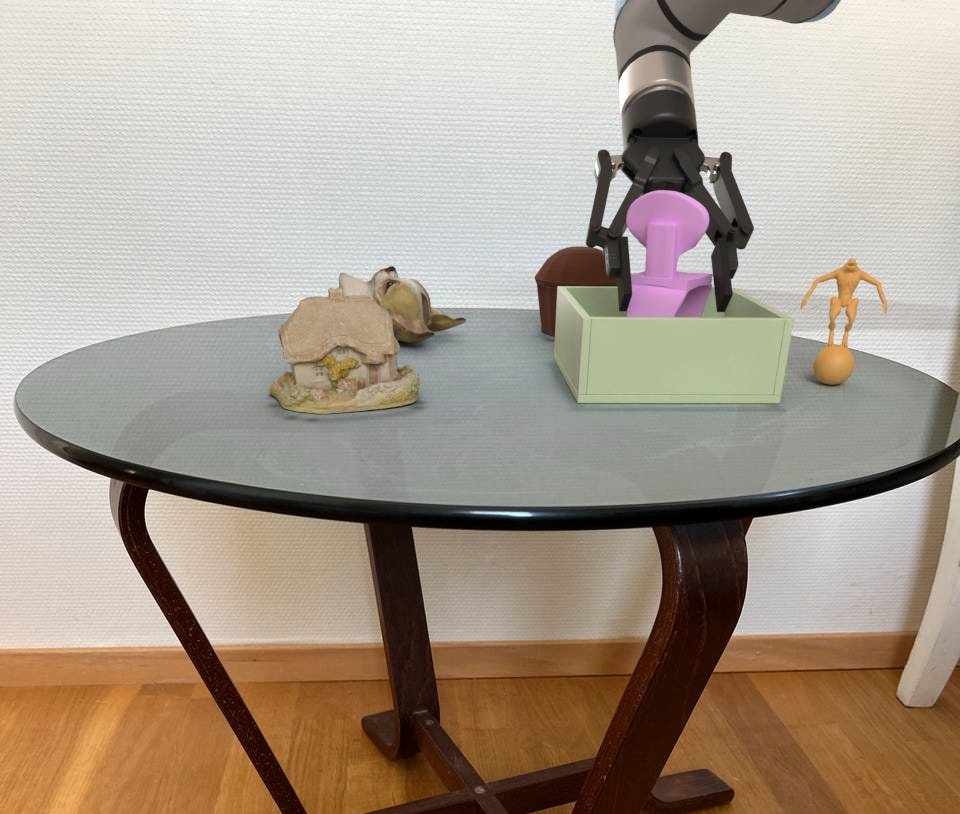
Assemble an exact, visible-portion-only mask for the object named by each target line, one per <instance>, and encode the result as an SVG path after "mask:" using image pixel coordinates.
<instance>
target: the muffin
mask: <svg viewBox="0 0 960 814" xmlns="http://www.w3.org/2000/svg"><path fill="white" fill-rule="evenodd" d="M602 252H603V249H599V248H597V247H593V248H590V247H588V246H583V245H581V246H580V245H579V246H577V245H576V246H568V247H565V248H561V249H559V250H558V251H556V252H555V253H553V254H551V255H550V256H549V257H548V258H547V259H546V260H545V261H544V262H543V264H542V265H541V267H540V268H539V270H538V271H537V272H536V274H535V275H534V281H535V284H536V289H537V290H536V291H537V299H538V309H539V320H540V329H541V333H543V334H547V335H549V336H551V337H555V326H556V306H557V287H558V286H564V287H565V286H592V287H617V278H612V277H608V275H607V273H606V261H605V257H604V256H603V254H602Z"/></svg>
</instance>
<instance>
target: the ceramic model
mask: <svg viewBox="0 0 960 814" xmlns="http://www.w3.org/2000/svg"><path fill="white" fill-rule="evenodd" d="M327 291H328V293H327V294H328V296H307V297H305V298H303V299H301V300H300V301H299V303H298V305H297V307H296V308H295V309H294V311H292V313H291V314H290V316H289V317H288V318H287V320H285V322H284V323H283V324H281V325H280V327H279V328H278V329H277V333H278V337H279V341H280V345H281V348H282V356H283V359H284V361H285V362H286V363H287V364H288V365H290V370H291V371H287V370H286V371H284V373H283V374H282V375H281V376H280V377H279V378H277V380H276V381H275V382H273V384H271V385H270V386H269V390H268V394H269V395H271V396H273V397H274V398H275V399H276V400H277V401H278V403H279V404H280V406H281V407H282V408H283V409H285V410H288V411H292V412H296V413H297V412H298V413H307V414H317V415H318V414H319V415H328V414H329V415H330V414H342V413H352V412H355V413H356V412H364V411H372V410H383V409H384V410H385V409H389V408H396V407H403V406H407V405H410V404H413V403H415V402H417V400H418V396H419V394H420V393H419V391H420V385H421V382H420V381H421V380H420V378H419V376H420V375H419V373H417V372H416V371H415V369H414V368H413V367H412V366H411V365H409V364H404V365H403V366H399V367H398V354H400V351H401V346H400V343H399V341H397V340H396V339H395V337H394V333H393V322H392V318H391V316H390V315H389V313H388V311H387V310H385V309H383V308H382V307H381V306H379V305H378V304H377V303H376V301H375V300H374V298H372V297H368V296H365V295H361V296H360V295H351V296H347V297H345V296H344V294H343V288H342V287H339V286H338V287H337V288H336V287H335V288H333V287H329V288H328V290H327Z"/></svg>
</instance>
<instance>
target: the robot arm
mask: <svg viewBox="0 0 960 814" xmlns="http://www.w3.org/2000/svg"><path fill="white" fill-rule="evenodd" d="M841 1H842V0H616V1H615V4H614V10H613V31H612V34H613V35H612V41H613V47H614V50H615V58H616V68H617V69H616V70H617V80H618V93H619V107H620V118H621V135H622V150H623V151H622V153H621V154H615V155H614V154H613V155H611V154H610V151H608V150H606V149H599V150H598V152H597V154H596V161H595V166H594V169H593V175H594V179H595V183H596V189H595V194H594V198H593V204H592V208H591V214H590V218H589V222H588V227H587V232H586V237H585V241H584V242H585V246H586V247H590V248H593V247H594V248H596V247H599V248H601V250H602V251H603V252H602V254H603V256H604V257H605V261H606V273H607V275H608V277H612V278H617V288H618V302H619V311H627V309H628V306H629V303H630V300H631V297H632V283H631V273H632V272H631V258H630V246H629V236H624V234H625V232H626V230H627V229H628V227H627V223H626V217H627V212H628V209H629V207H630V205H631V204H632V203H633V202H634V201H635V200H636V199H638V198H639V197H641V196H643V195H644V194H647V193H649V192H652V191H657V190H667V191H676V192H680V193H683V194H685V195H687V196H689V197H691V198H693V199H695V200H696V201H698V202H699V203H701V204H702V205H703V206H704V207H705V208H706V210H707V212H708V214H709V225H708V228H707V230H706V232H705V235H706V236H707V238H708V239H709V240H710V242H711V243H712V245H713V246H714V247H713V250H712V252H711V255H710V260H711V269H712V274H713V276H712V281H713V287H714V289H715V299H716V308H717V312H725V310H726V308H727V306H728V304H729V302H730V300H731V298H732V296H733V292H732V288H733V285H732V280H734V277H735V275H736V273H737V270H738V268H739V258H738V250H745V249H746V247H747V245H748V244H749V241H750V240H751V237H752V235H753V233H754V230H755V225H754V224H753V220H752V219H751V216H750V214H749V211H748V208H747V206H746V203H745V201H744V199H743V196H742V193H741V191H740V189H739V186H738V183H737V180H736V178H735V176H734V173H733V171H732V170H733V155H732V153H730V152H728V151H723V152H721V153H720V155H719V157H713V156H705V153H704V152H703V150H702V149H701V147H700V145H699V132H698V131H699V130H698V122H697V114H696V107H695V103H696V102H695V94H694V85H693V78H692V69H691V68H692V66H691V54H692V52H693V51H694V50H695V49H696V48H698V46H699V45H700V44H701V43H702V42H703V41H704V40H705V39H706V38H708V36H709V35H710V34H712V32H713V31H714V30H716V28H717V27H718V26H719V25H720V24H721V23H722V22H723V20H725V19H726V18H727V17H728V16H729V15H730V14H735V15H740V16H741V15H742V16H748V17H749V16H750V17H758V18H763V19H770V20H774V21H775V20H776V21H781V22H784V23H787V24H792V25H793V24H794V25H797V24H804V23H815V22H819V21H821V20H823V19H825V18H826V17H828V16H829V15H830V14H832V13H833V12H834V11H835V10H836V9H837V7H838V5H839V4H840V3H841ZM620 170H621V172H622V173H623V174H624V175H625V177H627V179H628V180H629V181H630V182H631V185H630V187H629V189H628V191H627V193H626V195H625V196H624V199H623V200H622V202H621V204H620V206H619V208H618V210H617V212H616V214H615V215H614V217H613V219H612V221H611V223H610V225H609V226H608V227H605V226H603V220H604V216H605V211H606V206H607V200H608V196H609V191H610V186H611V183H612V181H613V180H614V179H615V178H616V177H617V174H618V172H619V171H620ZM701 172H704V173H705V174H706V176H707V178H708V183H709V184H712V188H713V193H714V195H715V198H716V200H717V202H716V201H715V199H714V197H713V196H712V195H711V193H710V192H709V190H708V189H707V187H706V186H705V185H704V180H703V176H702V175H701Z"/></svg>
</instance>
